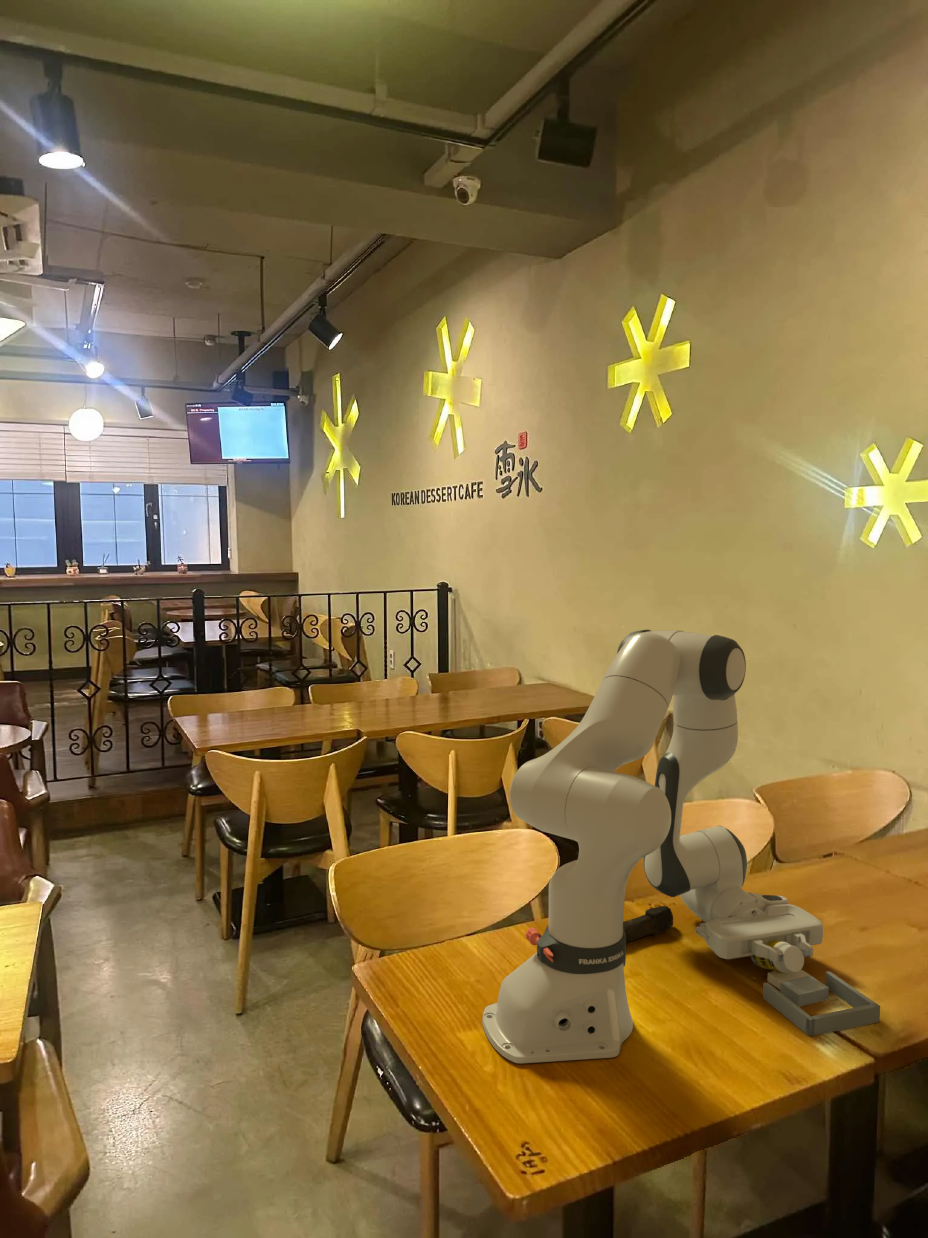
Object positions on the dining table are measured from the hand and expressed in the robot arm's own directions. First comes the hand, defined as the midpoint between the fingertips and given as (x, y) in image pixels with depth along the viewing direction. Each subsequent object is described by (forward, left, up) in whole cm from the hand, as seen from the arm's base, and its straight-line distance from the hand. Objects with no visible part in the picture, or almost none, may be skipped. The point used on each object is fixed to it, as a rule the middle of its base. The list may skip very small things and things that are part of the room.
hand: (794, 955), depth 133 cm
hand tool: (-16, +24, -6) cm, 30 cm away
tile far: (+1, +2, -7) cm, 7 cm away
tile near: (0, -2, -6) cm, 6 cm away
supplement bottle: (0, +8, -4) cm, 9 cm away
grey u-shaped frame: (0, -6, -6) cm, 8 cm away
